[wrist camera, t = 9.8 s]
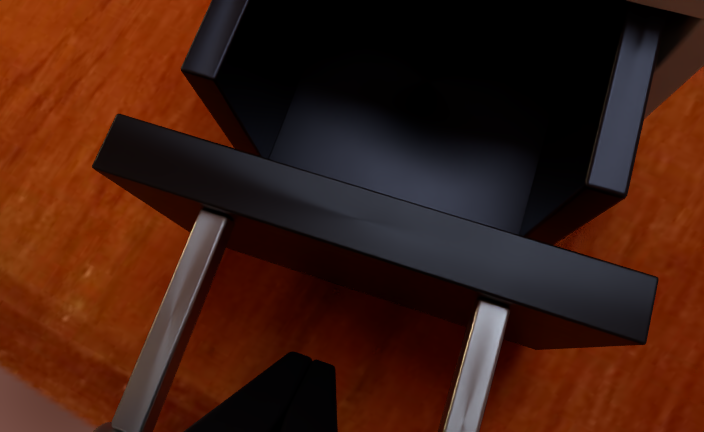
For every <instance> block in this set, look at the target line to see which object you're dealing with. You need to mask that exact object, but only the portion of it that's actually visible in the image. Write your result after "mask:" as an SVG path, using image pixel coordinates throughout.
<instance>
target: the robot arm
mask: <svg viewBox="0 0 704 432" xmlns="http://www.w3.org/2000/svg"><path fill="white" fill-rule="evenodd" d="M184 432H338V429H337V401H336V373H335V367H334V366H333V365H331V364H328V363H326V362H323V361H320V360H313V361H312V359H311V358H310V357H308V356H306V355H303V354H300V353H297V352H289V353H288V354H286V355H285V356H284V357H282V358H281V359H280V360H278V361H277V362H276V363H274V364H273V365H272V366H270V367H269V368H268V369H266V370H265V371H264V372H262V373H261V374H260V375H258V376H257V377H256V378H254V379H253V380H252V381H250V382H249V383H248V384H246V385H245V386H244V387H242V388H241V389H240V390H238V391H237V392H236V393H234V394H233V395H232V396H230V397H229V398H228V399H226V400H225V401H224V402H222V403H221V404H220V405H218V406H217V407H216V408H214V409H213V410H212V411H210V412H209V413H208V414H206V415H205V416H204V417H202V418H201V419H200V420H198V421H197V422H196V423H194V424H193V425H192V426H190V427H189V428H188V429H186V430H185V431H184Z"/></svg>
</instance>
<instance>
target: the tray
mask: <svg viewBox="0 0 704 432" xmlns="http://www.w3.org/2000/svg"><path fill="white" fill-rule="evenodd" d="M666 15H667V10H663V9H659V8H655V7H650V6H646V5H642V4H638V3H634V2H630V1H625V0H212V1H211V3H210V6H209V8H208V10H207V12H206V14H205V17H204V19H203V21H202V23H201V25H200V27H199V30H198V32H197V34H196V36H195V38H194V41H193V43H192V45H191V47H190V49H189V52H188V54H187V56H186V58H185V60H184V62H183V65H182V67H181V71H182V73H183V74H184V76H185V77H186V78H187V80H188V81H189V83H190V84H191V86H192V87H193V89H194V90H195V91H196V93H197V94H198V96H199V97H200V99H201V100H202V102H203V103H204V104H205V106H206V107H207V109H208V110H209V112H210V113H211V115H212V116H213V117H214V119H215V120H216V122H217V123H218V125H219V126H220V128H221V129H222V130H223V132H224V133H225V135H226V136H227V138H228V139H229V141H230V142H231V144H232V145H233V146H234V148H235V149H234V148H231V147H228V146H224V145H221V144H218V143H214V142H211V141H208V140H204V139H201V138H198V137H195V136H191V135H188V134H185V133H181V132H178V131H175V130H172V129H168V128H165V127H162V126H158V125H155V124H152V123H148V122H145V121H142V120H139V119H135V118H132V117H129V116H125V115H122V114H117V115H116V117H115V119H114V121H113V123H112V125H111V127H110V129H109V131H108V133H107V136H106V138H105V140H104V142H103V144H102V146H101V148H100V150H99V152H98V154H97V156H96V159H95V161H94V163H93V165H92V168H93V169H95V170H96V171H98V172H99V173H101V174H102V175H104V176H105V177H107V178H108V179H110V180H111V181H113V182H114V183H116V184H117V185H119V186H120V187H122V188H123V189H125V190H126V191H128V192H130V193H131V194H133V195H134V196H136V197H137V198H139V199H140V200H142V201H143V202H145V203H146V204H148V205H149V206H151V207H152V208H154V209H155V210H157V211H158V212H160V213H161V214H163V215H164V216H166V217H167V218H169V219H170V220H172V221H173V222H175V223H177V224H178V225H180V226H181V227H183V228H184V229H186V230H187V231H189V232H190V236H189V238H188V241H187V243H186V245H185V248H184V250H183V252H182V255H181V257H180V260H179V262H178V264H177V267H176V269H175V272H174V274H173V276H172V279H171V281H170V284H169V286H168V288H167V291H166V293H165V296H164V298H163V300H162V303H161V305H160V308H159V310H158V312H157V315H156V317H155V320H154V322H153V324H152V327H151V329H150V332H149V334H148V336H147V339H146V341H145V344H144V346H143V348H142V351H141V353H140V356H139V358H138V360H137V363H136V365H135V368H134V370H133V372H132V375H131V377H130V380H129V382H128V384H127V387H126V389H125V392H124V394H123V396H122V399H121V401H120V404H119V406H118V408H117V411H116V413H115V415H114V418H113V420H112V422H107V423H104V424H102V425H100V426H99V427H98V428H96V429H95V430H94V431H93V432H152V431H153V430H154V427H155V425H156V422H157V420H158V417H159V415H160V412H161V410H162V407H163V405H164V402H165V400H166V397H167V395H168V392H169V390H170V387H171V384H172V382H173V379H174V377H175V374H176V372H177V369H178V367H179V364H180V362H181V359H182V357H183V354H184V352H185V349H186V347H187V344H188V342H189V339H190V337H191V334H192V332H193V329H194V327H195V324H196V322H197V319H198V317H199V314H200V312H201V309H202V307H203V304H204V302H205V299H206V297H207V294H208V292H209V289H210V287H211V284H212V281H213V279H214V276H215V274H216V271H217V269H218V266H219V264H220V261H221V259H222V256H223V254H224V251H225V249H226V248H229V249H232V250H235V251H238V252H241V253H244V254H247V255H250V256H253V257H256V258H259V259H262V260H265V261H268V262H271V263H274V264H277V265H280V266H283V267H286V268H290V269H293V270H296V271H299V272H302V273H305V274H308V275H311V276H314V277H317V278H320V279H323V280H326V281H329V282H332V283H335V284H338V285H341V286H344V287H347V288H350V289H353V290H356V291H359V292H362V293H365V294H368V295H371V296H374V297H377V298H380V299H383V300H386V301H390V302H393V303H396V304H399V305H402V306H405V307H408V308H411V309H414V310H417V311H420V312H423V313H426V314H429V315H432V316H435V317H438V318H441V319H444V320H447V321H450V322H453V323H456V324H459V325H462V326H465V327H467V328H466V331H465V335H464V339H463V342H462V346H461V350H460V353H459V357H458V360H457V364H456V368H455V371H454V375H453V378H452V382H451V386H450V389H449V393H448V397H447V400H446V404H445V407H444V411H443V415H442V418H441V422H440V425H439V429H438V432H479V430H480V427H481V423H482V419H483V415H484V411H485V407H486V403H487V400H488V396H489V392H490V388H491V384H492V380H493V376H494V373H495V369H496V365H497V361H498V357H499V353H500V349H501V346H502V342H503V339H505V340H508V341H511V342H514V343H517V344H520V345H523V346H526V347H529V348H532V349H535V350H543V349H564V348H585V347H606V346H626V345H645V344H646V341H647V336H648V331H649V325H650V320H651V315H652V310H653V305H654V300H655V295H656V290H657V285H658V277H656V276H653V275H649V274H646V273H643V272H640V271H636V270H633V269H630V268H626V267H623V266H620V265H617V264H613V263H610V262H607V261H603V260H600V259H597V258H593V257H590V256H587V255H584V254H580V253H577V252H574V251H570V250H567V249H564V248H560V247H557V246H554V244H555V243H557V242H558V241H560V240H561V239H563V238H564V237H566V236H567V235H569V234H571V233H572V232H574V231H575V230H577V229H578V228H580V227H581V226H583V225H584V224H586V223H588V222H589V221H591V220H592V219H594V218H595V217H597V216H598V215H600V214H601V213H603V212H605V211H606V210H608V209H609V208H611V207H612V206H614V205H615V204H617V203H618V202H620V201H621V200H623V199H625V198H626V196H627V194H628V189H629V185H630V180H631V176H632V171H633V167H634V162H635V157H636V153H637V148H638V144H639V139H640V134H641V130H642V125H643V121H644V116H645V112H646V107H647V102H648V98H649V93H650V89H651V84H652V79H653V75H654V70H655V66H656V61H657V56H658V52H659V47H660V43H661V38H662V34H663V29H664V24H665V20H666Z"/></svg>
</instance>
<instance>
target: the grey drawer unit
mask: <svg viewBox="0 0 704 432" xmlns="http://www.w3.org/2000/svg"><path fill="white" fill-rule="evenodd" d="M625 1H630V2H634V3H638V4H642V5H646V6H650V7H655V8H659V9H663V10H667V15H666V20H665V24H664V29H663V34H662V38H661V43H660V47H659V52H658V56H657V61H656V66H655V70H654V75H653V79H652V84H651V89H650V93H649V98H648V102H647V107H646V112H645V116H644V119H645V118H646V117H647V116H648V115H649V114H650V113H651V112H653V111H654V110H655V109H656V108H657V107H658V106H659V105H660V104H661V103H663V102H664V101H665V100H666V99H667V98H668V97H669V96H670V95H671V94H673V93H674V92H675V91H676V90H677V89H678V88H679V87H680V86H681V85H683V84H684V83H685V82H686V81H687V80H688V79H689V78H690V77H691V76H693V75H694V74H695V73H696V72H697V71H698V70H699V69H700V68H701V67H703V66H704V0H625Z"/></svg>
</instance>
